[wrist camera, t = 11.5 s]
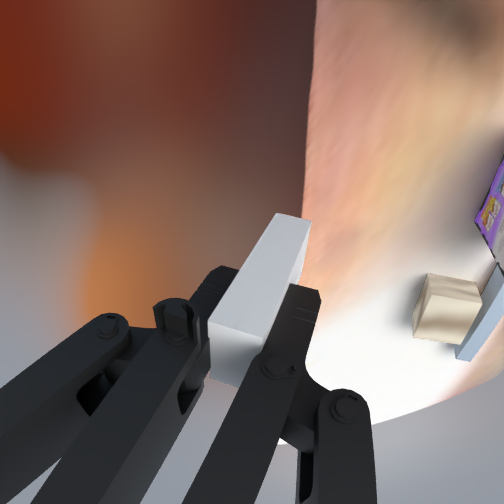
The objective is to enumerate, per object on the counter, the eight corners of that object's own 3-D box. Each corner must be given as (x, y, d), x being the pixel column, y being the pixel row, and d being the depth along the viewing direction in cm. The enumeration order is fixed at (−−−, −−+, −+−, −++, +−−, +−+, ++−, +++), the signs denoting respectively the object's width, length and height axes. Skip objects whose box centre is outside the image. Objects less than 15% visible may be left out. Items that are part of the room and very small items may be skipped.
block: (427, 272, 40) (431, 294, 36) (475, 281, 38) (482, 303, 34) (411, 314, 45) (412, 337, 41) (456, 321, 42) (460, 344, 38)
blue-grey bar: (501, 255, 34) (509, 272, 31) (516, 260, 34) (525, 277, 30) (453, 340, 44) (455, 358, 41) (467, 343, 43) (470, 361, 40)
